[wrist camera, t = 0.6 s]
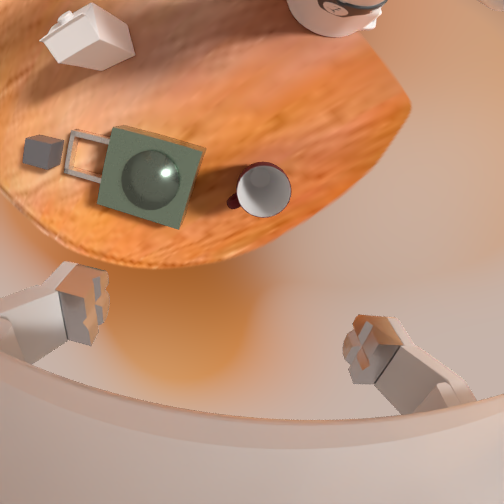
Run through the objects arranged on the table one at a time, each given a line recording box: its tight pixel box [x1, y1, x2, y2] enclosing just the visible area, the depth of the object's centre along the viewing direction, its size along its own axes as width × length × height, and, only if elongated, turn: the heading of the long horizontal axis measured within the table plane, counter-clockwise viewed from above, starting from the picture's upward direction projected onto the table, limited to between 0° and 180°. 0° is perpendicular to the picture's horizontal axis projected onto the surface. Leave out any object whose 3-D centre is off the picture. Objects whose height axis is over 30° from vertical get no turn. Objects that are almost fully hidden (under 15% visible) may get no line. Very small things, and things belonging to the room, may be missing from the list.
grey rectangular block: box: [23, 135, 64, 170], centre depth 44 cm, size 5×7×5 cm
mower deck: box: [64, 125, 206, 230], centre depth 47 cm, size 14×26×6 cm, turn 70°
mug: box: [227, 162, 291, 218], centre depth 48 cm, size 11×8×10 cm
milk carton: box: [39, 2, 135, 71], centre depth 31 cm, size 7×7×19 cm
